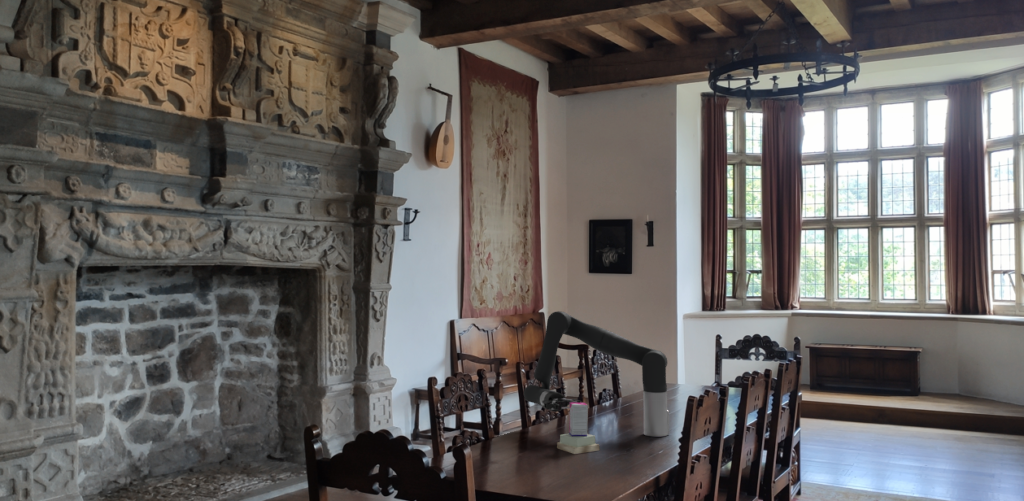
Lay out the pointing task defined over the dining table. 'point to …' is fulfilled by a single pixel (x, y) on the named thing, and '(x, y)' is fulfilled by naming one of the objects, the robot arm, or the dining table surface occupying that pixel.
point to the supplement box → (578, 419)
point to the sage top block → (577, 440)
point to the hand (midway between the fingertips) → (569, 407)
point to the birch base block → (578, 448)
